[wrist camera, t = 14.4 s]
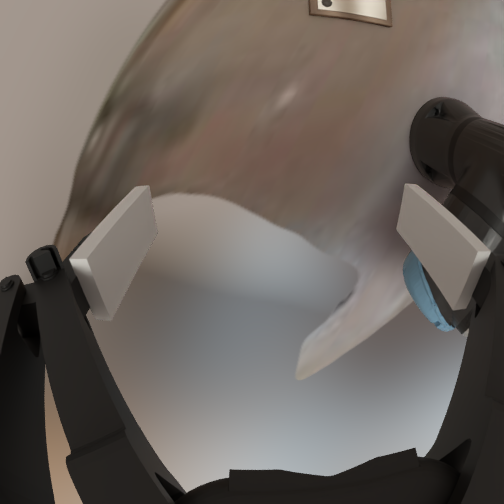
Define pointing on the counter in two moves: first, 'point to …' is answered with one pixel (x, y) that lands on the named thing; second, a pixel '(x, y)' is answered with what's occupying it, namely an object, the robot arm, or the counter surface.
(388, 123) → the counter surface
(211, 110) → the counter surface
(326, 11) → the coaster board
